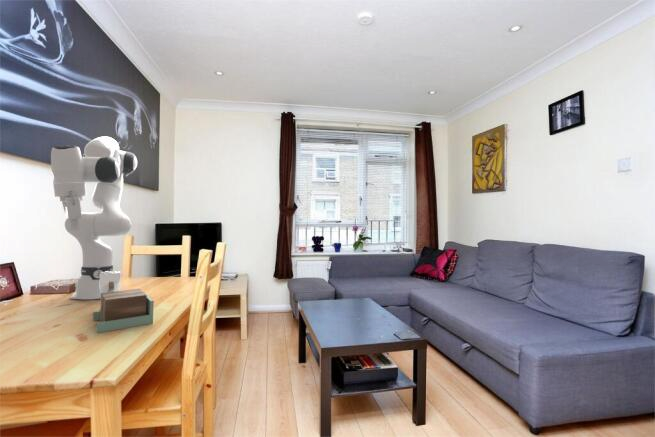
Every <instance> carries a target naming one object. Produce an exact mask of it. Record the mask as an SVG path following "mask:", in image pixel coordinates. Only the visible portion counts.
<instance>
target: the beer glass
mask: <svg viewBox="0 0 655 437" xmlns="http://www.w3.org/2000/svg"><path fill="white" fill-rule="evenodd" d="M120 287H121V271H118V270H113V271H106V272H101V273H100V280H99V289H100V295H101V293H107V292H116V291H120V289H121V288H120ZM99 311H101V305H100V307H99Z"/></svg>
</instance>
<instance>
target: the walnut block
mask: <svg viewBox="0 0 655 437" xmlns="http://www.w3.org/2000/svg"><path fill="white" fill-rule="evenodd" d="M144 292H145V291H142V289H140V288H136V289H126V290H119V291H116V292H107V293H101V298H100V306H101V311H100V310H99V311H100V320H99V321H100V322H105V321H111V320H117V319H124V318H130V317H137V316H143V315H146V299H147V295H148V294H147V293H146V292H145V293H146V294H147V295H146V294H145V293H144Z"/></svg>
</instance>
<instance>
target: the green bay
mask: <svg viewBox="0 0 655 437" xmlns="http://www.w3.org/2000/svg"><path fill="white" fill-rule="evenodd" d="M143 292H144V293H145V294H146V295H147V299H146V315H143V316H137V317H130V318H124V319H117V320H111V321H105V322H101V321H100V310H95V311H92V321H100V322H96V333H97V334H98V333H104V332H111V331H115V330H121V329H126V328H133V327H138V326H144V325H145V326H146V325H150V324H151V325H152V324H153V323H154V299H152V298H151V297H150V295H148V294H147V293H146V292H145V291H143Z"/></svg>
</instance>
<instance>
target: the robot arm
mask: <svg viewBox="0 0 655 437" xmlns="http://www.w3.org/2000/svg"><path fill="white" fill-rule="evenodd" d="M50 164H51V165H50V168H51V171H52V174H53V181H52V183H53V184H52V185H53V192H54V194H53V195H54V197H55V198H57V197H58V198H59V202H61V204H62V207H63V211H64V214H65V216H66V219H65V220H64V227H65V230H66V232H67V233H68V234H70V235H71V236H72V237H74V238H75V239H76V240H77V242H78V243H79V245H80V247H81V251H82V266H81V269H80V275H81V276H79V278H78V279H77V280H76V281H75V283H74V288H75V291H74V293H73V294H72V295H71V296H70V297H69V298H70V300H99V299H100V300H101V295H100V289H99V280H100V273H101V272H106V271H114V265H113V249H112V247H110V246H109V245H107V244H106V243H103V242H102V241H101V239H100V237H118V236H125V235H127V234H128V233H129V232H130V230H131V228H132V222H131V219H130V218H129V217H128V215H126V214H125V213H124V212H123V211H122V210H121V207H120V206H121V205H120V204H121V203H120V202H121V198H122V194H123V190H124V189H123V187H124V177H128V176H129V175H131V174H132V173H134V171H136V168H137V167H138V159H137V156H136V155H135V154H134V153H133V152H130V151H124V150H120V146H119V143H118V142H117V140H115V139H114V138H112V137H110V136H100V137H99V136H98V137H96V138H94V139H92V140H90V141H89V142H88V143H86V145H85V147H84V150H83V154H82V151H81V149H80V147H79V146H77V145H71V144H70V145H69V144H68V145H55V146H53V147H52V148H51V151H50ZM86 183H96V184H95V187H94V189H93V190H94V191H93V193H92V196H91V202H92V204H93V205H94V207H96V208H97V209H100V212H85V211H84V212H83V211H82V206H81V201H84V199H83V197H85V196H87V192H88V191H87V184H86Z"/></svg>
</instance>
